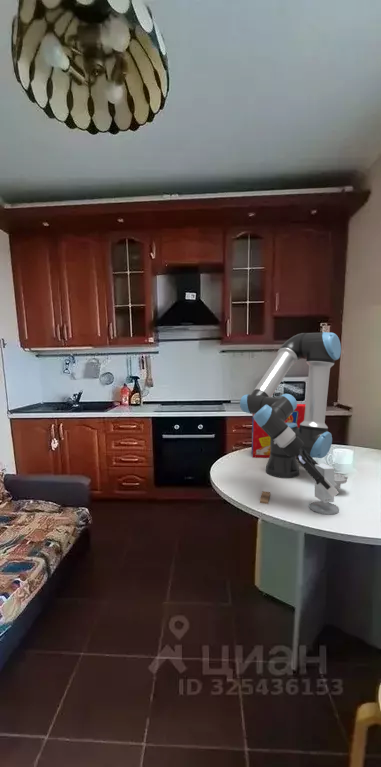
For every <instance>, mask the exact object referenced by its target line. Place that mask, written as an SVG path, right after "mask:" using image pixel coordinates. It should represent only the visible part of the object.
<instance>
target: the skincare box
mask: <svg viewBox="0 0 381 767" xmlns="http://www.w3.org/2000/svg"><path fill="white" fill-rule="evenodd" d="M315 467H316V469H317V470H318V471H319V472H320V473H321V475H322V476H323V477H324V478H326V479H327V480H328V481H329V482H330V483H331V484H332V486H333V487H334V473H335V468H334V467H332V466H331V465H328V464H326V463H318V464H315ZM316 483H317V482H316V481H315V480H314V497H315V498H317V499H318V501H322V502H324V503H328V502H329V503H334V502H335V496H334V497H332V496H331V495H330V494H329V493H328V492H327V491H326V490H325V489H324V488H323V487H322V486H321V485H320V484H318V485H317V484H316Z"/></svg>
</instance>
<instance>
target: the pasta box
mask: <svg viewBox="0 0 381 767" xmlns="http://www.w3.org/2000/svg"><path fill="white" fill-rule="evenodd" d="M305 405H306V403H304V404H302V403H297V407H296V409H295V410H294V412H293V413H292V414H291V415H290V416H289V417H288V418H287V419H286V420H285V421H284V422H285V423H296V424H297V427H299V428H300V423H302V422H303V421H304V415H305ZM254 415H255V414H251V417H252V421H251V457H252V458H256V459H269V457H270V440H271V437H270V436H269V435H268V434H267V433H266V432H265V431H264V430H263V429H262V428H261V427H260V426H259V425H258V424H257V422H256V421H255V420H254V418H253V416H254ZM296 458H297V457H296Z"/></svg>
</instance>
